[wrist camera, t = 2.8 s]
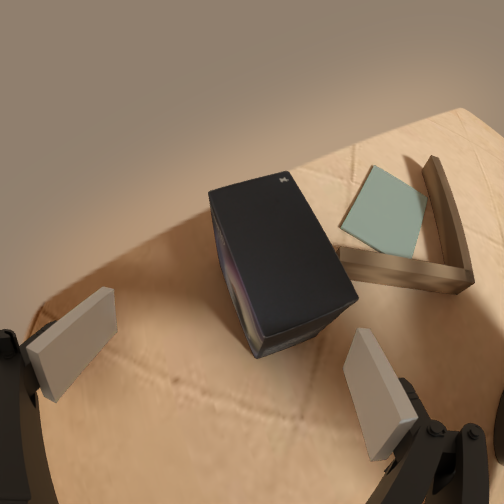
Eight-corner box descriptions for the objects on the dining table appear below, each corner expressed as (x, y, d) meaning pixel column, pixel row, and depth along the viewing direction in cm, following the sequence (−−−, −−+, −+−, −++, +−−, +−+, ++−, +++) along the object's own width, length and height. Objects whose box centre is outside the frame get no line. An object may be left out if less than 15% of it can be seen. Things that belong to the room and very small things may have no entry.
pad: (426, 199, 33) (427, 197, 33) (406, 269, 28) (408, 268, 27) (373, 166, 35) (374, 164, 35) (340, 228, 30) (341, 227, 30)
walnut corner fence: (428, 173, 36) (438, 157, 33) (457, 294, 26) (474, 282, 23) (328, 146, 37) (333, 127, 33) (329, 276, 27) (340, 260, 24)
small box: (214, 259, 28) (202, 187, 18) (275, 240, 29) (290, 166, 20) (252, 362, 23) (259, 340, 14) (319, 335, 24) (365, 296, 15)
